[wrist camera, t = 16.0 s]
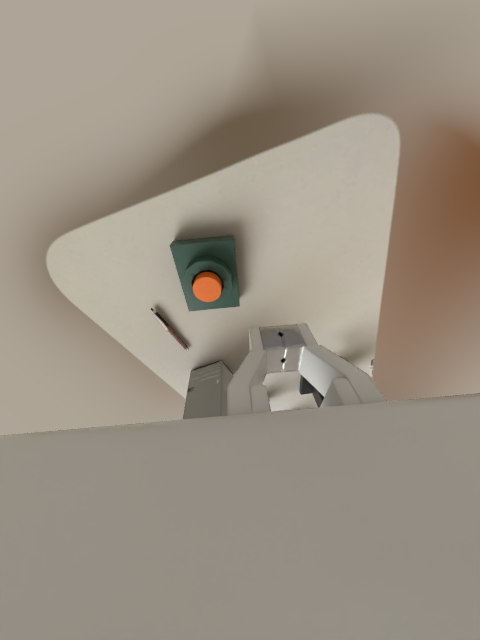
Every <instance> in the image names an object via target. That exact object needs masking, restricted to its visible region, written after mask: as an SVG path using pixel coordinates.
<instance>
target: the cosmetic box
mask: <svg viewBox="0 0 480 640" xmlns="http://www.w3.org/2000/svg"><path fill="white" fill-rule="evenodd" d="M232 378H233V374H232V373H231V372H230V371H229V370H228V369H227V367H226V366H225V365H224V364H223V362H222V361H219V362H217V363H214V364H211V365H209V366H206V367H203V368H200V369H197V370H194V371H191V373H190V379H189V385H188V391H187V397H186V403H185V409H184V415H183V420H184V419H195V418H206V417H218V416H227V386H228V384H229V383H230V381H231V380H232Z"/></svg>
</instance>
